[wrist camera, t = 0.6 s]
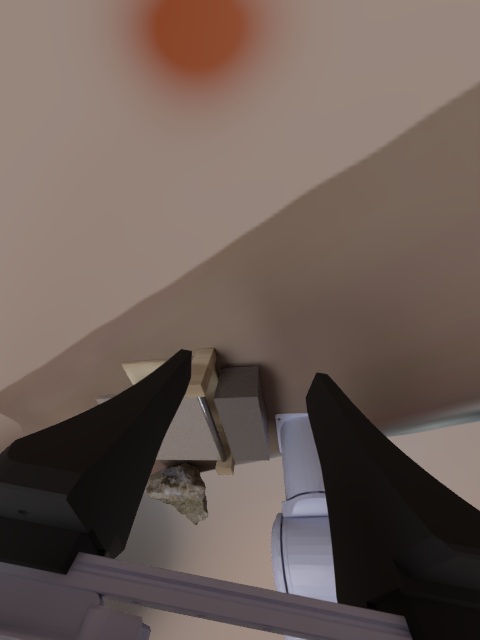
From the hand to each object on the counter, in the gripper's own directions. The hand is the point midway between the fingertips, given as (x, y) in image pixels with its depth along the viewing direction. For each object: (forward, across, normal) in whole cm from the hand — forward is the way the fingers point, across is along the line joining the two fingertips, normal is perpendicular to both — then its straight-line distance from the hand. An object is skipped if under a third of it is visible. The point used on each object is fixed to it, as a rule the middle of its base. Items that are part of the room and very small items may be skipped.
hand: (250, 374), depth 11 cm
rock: (+7, +8, +29) cm, 31 cm away
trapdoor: (+5, +2, +14) cm, 15 cm away
